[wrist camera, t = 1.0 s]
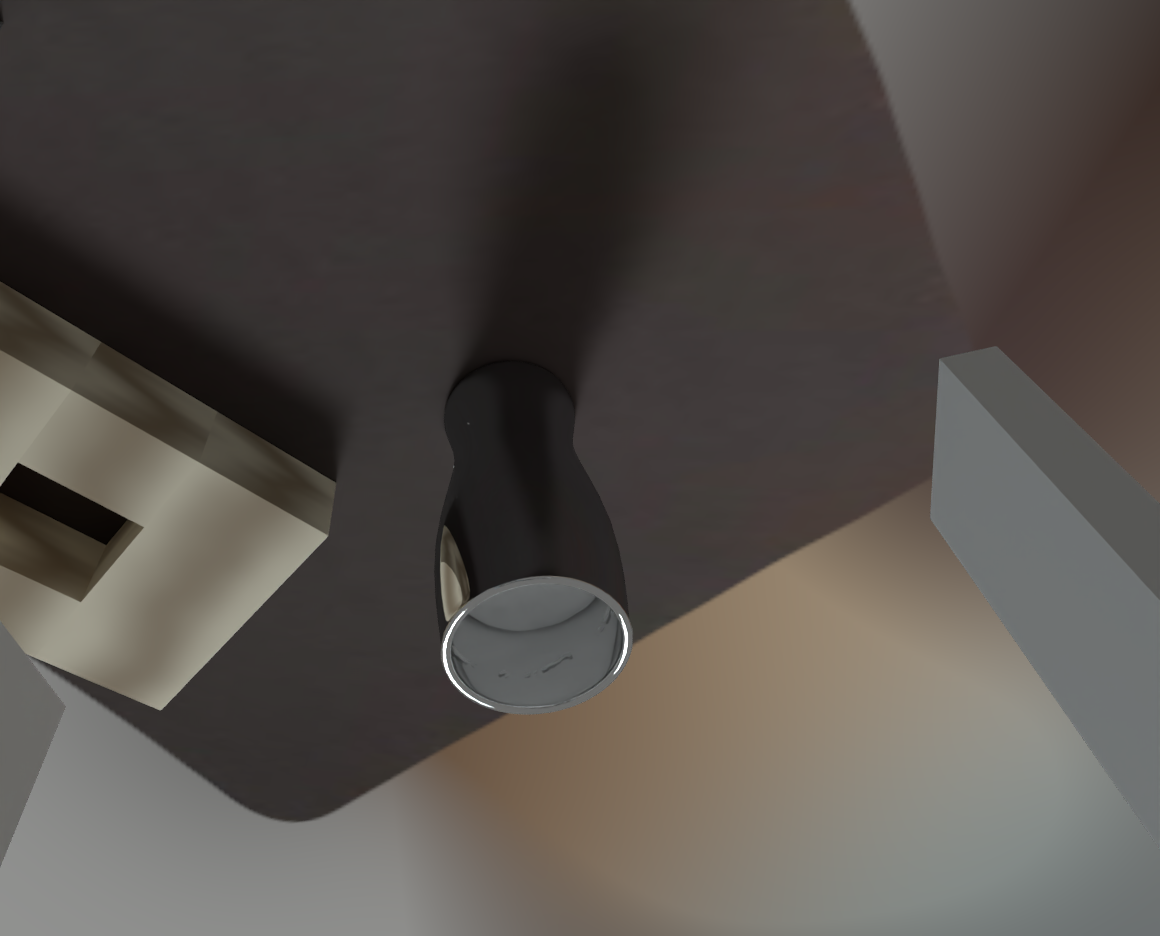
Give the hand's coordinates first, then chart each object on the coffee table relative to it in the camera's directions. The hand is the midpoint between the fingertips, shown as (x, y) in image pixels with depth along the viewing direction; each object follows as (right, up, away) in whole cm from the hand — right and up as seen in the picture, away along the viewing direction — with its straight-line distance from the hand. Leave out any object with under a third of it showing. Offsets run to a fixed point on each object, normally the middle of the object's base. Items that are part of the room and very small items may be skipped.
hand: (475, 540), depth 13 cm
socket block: (-21, 0, +30) cm, 37 cm away
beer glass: (-2, +4, +31) cm, 32 cm away
